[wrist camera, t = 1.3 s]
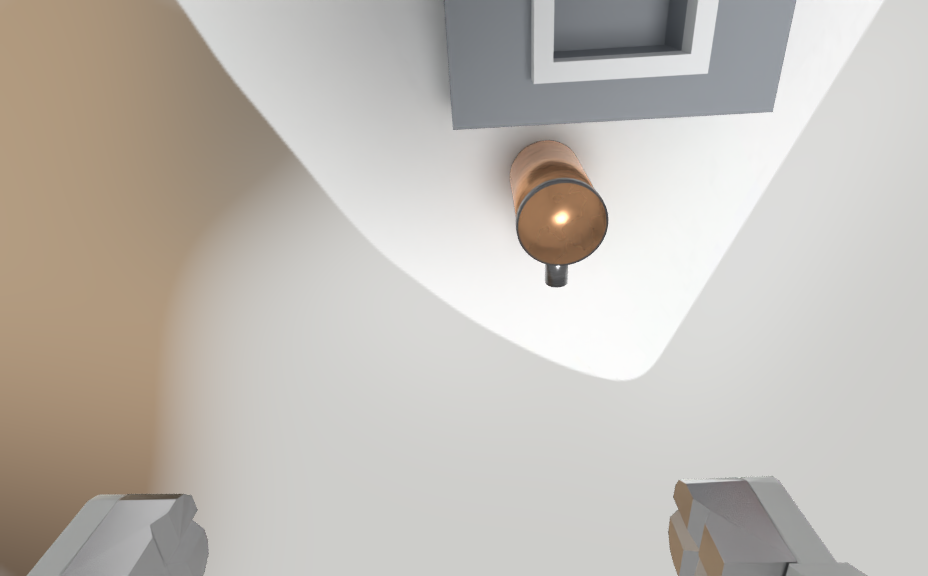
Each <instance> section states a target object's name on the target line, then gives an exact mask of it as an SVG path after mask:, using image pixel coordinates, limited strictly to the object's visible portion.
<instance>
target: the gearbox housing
mask: <svg viewBox="0 0 928 576" xmlns="http://www.w3.org/2000/svg"><path fill="white" fill-rule="evenodd" d="M795 4H796V0H444V5H445V20H446V34H447V48H448V63H449V77H450V92H451V106H452V121H453V130H459V129H477V128H495V127H512V126H530V125H548V124H566V123H584V122H602V121H619V120H637V119H655V118H673V117H691V116H709V115H726V114H744V113H762V112H773V107H774V102H775V98H776V93H777V88H778V84H779V79H780V74H781V70H782V65H783V60H784V56H785V51H786V46H787V42H788V37H789V32H790V27H791V23H792V18H793V13H794V9H795Z"/></svg>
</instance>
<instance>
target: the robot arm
mask: <svg viewBox="0 0 928 576" xmlns="http://www.w3.org/2000/svg"><path fill="white" fill-rule="evenodd" d="M673 498H674V500H675V502H676V505H677V507H678V510H677V511H676V512H675V513H674V514H673V515H672V516H671V517H670V522H669V531H668V534H669V545H670V552H671V556H672V560H673V563H674V566H675V569H676V571H677V574H678V576H867V575H866V574H864V573H862V572H861V571H859V570H858V569H856V568H855V567H853V566H852V565H850V564H849V563H837V562H836V560H835V559H834V558H833V556H832V555H831V553H830V552H829V551H828V549H827V548H826V546H825V545H824V543H823V542H822V541H821V539H820V538H819V536H818V535H817V534H816V532H815V531H814V529H813V528H812V526H811V525H810V523H809V522H808V521H807V519H806V518H805V516H804V515H803V514H802V512H801V511H800V509H799V508H798V506H797V505H796V504H795V502H794V501H793V500H792V498H791V497H790V495H789V494H788V493H787V491H786V490H785V488H784V487H783V485H782V484H781V482H780V481H779V480H777V479H776V478H774V477H773V476H764V477H763V476H762V477H741V478H710V479H683V480H679V481H678V482H677V484H676V486H675V491H674V496H673ZM196 512H197V507H196V505H195V502H194V500H193V498H192V496H191V495H186V494H127V495H98V496H96V497H94V498H92V499H90V500H89V501H88V502H87V503H86V504H85V505H84V507H83V508H82V509H81V510H80V512H79V513H78V514H77V515H76V516H75V518H74V519H73V520H72V521H71V522H70V524H69V525H68V526H67V527H66V528H65V530H64V531H63V532H62V533H61V535H60V536H59V537H58V538H57V539H56V541H55V542H54V543H53V544H52V546H51V547H50V548H49V549H48V550H47V552H46V553H45V554H44V555H43V557H42V558H41V559H40V560H39V561H38V563H37V564H36V565H35V566H34V567H33V569H32V570H31V571H30V573H29V574H28V575H27V576H203V574H204V572H205V568H206V563H207V558H208V554H209V553H208V539H207V536H206V533H205V530H204V529H203V528H202V527H201V526H200V525H198V524H197V523H196V522H194V521H193V520H192V519H193V517H194V516H195V514H196Z"/></svg>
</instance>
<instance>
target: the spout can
mask: <svg viewBox="0 0 928 576" xmlns="http://www.w3.org/2000/svg"><path fill="white" fill-rule="evenodd" d="M510 183H511V189H512V195H513V201H514V207H515V213H516V230H517V235H518V239H519V242H520V244H521V246H522V247H523V249H524V250H525V251H526V252H527V253H528V254H529V255H530V256H531V257H532V258H534V259H535V260H537V261H539V262H542V263H544V264H545V283H546V284H547V285H548V286H551V287H562V286H565V285H566V284H567V277H568V265H570V264H574V263H576V262H579V261H581V260H583V259H585V258H586V257H588V256H589V255H591V254H592V253H593V252H594V251H595V250H596V249H597V248H598V247H599V245H600V244H601V243H602V241H603V239H604V237H605V235H606V232H607V228H608V212H607V209H606V206H605V204H604V202H603V200H602V198H601V197H600V195H599V194H598V192H597V191H596V190H595V189H594V188H593V186H592V184H591V182H590V180H589V179H588V177H587V175H586V173H585V171H584V170H583V168H582V166H581V164H580V162H579V161H578V159H577V157H576V155H575V154H574V152H573V151H572V150H571V149H570V148H568V147H567V146H566V145H564V144H562V143H560V142H556V141H551V140H545V141H539V142H535V143H533V144H531V145H529V146H527V147H526V148H524V149H523V150H522V151H521V152H520V153H519V154H518V155H517V157H516V158H515V160H514V162H513V164H512V167H511V171H510Z"/></svg>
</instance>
